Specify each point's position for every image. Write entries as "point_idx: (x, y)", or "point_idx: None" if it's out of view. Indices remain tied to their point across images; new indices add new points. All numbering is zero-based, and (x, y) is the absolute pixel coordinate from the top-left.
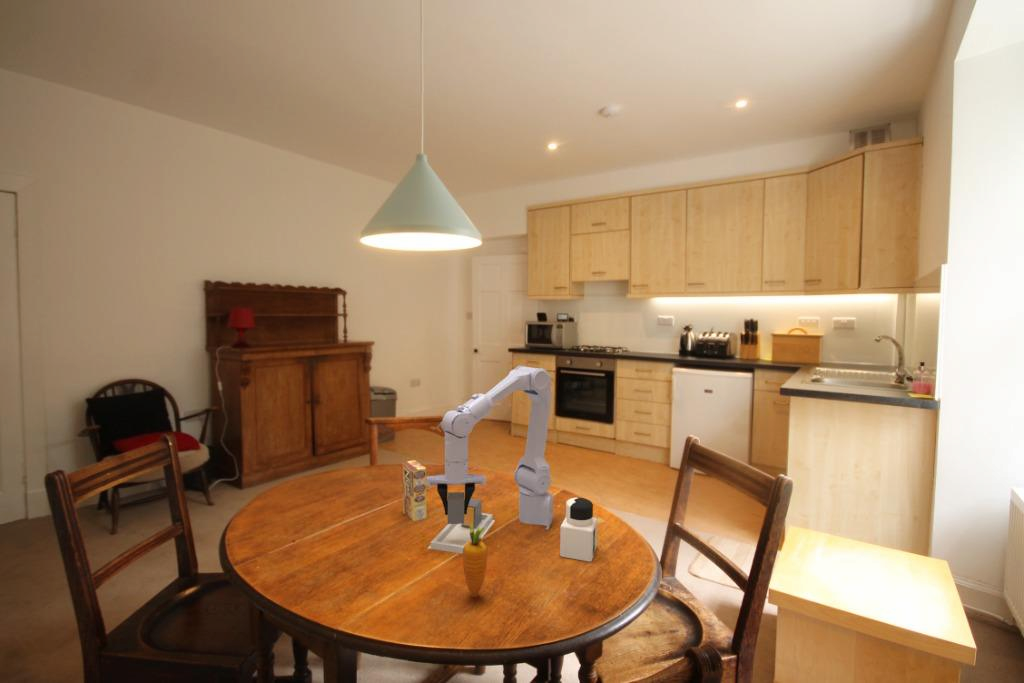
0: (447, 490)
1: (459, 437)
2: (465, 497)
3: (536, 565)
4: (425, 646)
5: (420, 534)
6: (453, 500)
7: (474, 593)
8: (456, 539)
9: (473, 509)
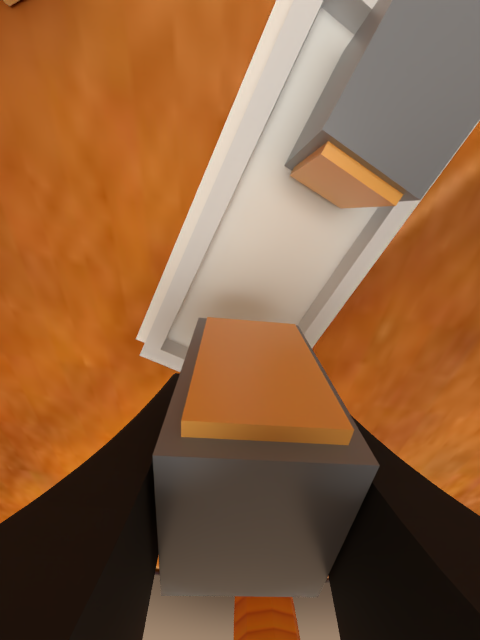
0: (125, 568)
1: None
2: (338, 601)
3: (431, 437)
4: None
5: (86, 174)
6: (216, 587)
7: None
8: (245, 293)
9: (391, 205)
